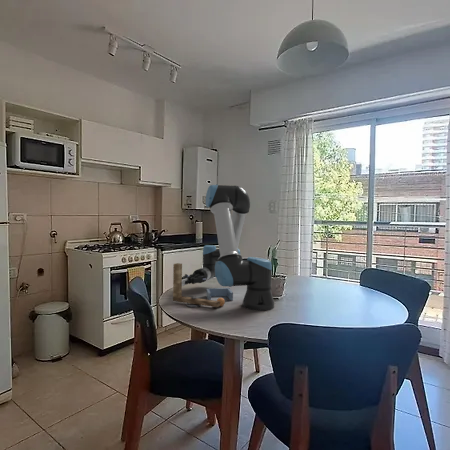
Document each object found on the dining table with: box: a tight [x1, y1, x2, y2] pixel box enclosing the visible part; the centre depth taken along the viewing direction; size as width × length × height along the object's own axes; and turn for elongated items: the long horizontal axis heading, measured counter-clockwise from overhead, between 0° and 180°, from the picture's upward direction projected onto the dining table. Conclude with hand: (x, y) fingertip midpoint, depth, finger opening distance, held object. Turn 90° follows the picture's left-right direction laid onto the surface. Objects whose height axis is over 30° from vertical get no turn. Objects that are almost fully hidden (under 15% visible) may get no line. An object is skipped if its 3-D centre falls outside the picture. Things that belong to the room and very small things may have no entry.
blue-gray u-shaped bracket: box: [205, 287, 234, 301], centre depth 177 cm, size 10×12×4 cm
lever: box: [172, 262, 221, 308], centre depth 162 cm, size 24×3×18 cm, turn 67°
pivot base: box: [185, 303, 202, 308], centre depth 163 cm, size 7×7×1 cm
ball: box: [216, 297, 226, 307], centre depth 163 cm, size 4×4×4 cm
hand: (180, 283), depth 169 cm, fingers closed
